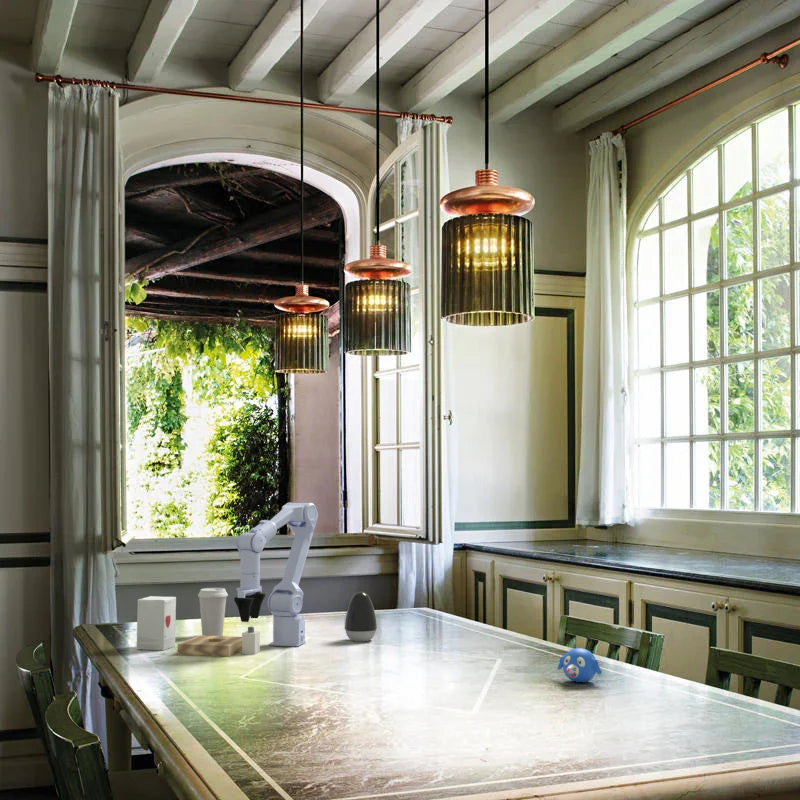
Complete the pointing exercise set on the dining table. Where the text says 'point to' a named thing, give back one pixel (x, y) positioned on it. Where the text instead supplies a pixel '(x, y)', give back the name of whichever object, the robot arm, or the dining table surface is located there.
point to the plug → (251, 641)
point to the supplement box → (156, 623)
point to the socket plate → (210, 646)
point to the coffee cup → (212, 610)
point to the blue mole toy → (579, 665)
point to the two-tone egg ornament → (360, 618)
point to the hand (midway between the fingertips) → (249, 620)
